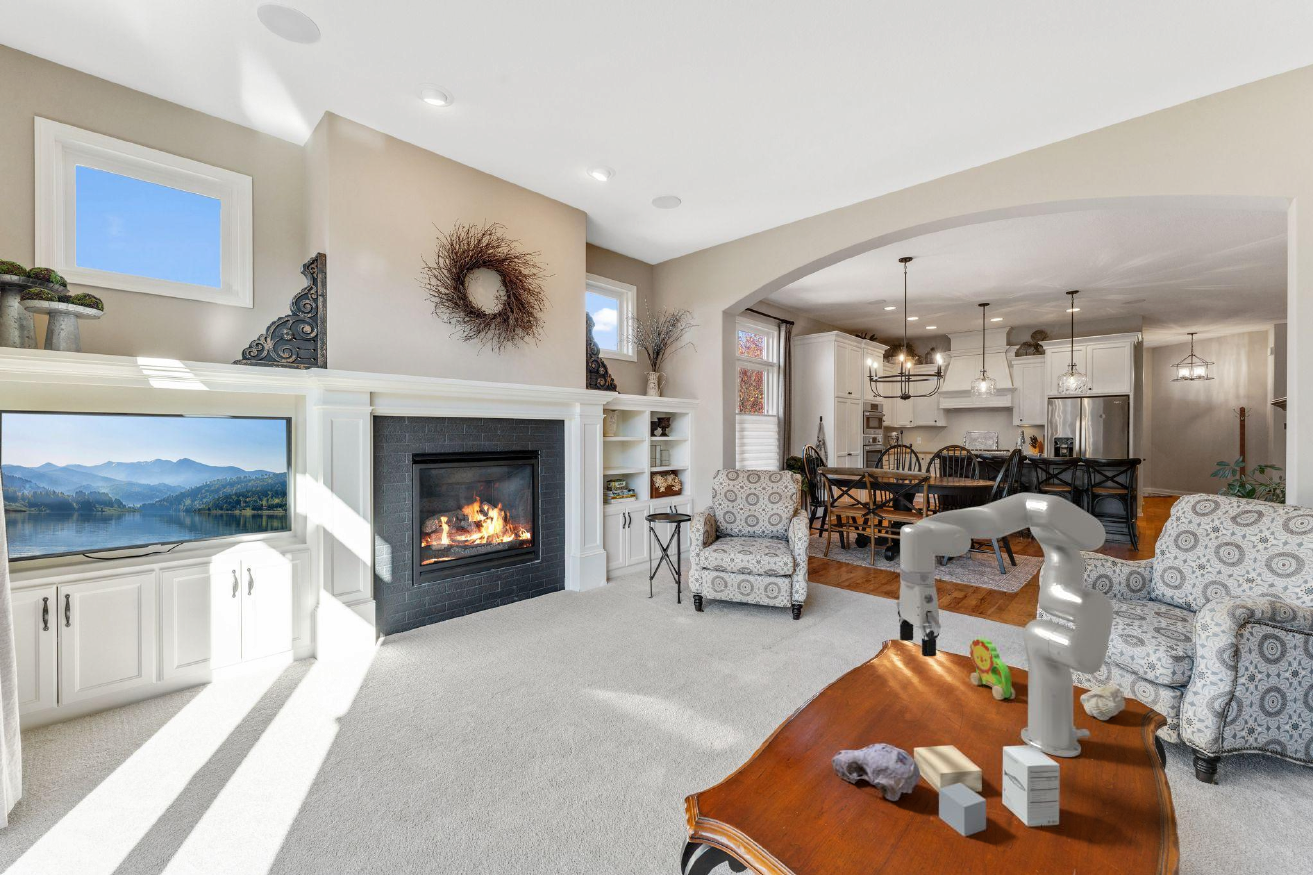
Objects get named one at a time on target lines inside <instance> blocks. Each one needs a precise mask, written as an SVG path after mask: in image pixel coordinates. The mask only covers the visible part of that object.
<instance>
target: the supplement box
mask: <svg viewBox="0 0 1313 875" xmlns="http://www.w3.org/2000/svg"><path fill="white" fill-rule="evenodd" d="M1060 773H1061V772H1060V764H1059V763H1058V762H1056V761H1055V760H1053V759H1052V758H1051V757H1050V756H1048V755H1047V754H1046V753H1045V752H1042V751H1040V750H1038V749H1037V748H1036V747H1034V746H1033V745H1028V744H1024V745H1023V744H1021V745H1010V746H1005V745H1004V746H1002V800H1001V801H1002V805H1004V806H1005V807H1006V808H1007V809H1008V810H1009V811H1011V812H1012V813H1013V814H1014V815H1015V816H1016V817H1017V818H1018V819H1019V820H1020V821H1021V822H1023V824H1025V826H1026V827H1043V826H1056V825H1059V824H1060V776H1061V775H1060ZM1041 825H1042V826H1041Z"/></svg>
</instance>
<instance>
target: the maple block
mask: <svg viewBox="0 0 1313 875" xmlns="http://www.w3.org/2000/svg"><path fill="white" fill-rule="evenodd" d="M913 759H914V761H915V762H916V763H917V765H918V768H919V770H920V776H921V777H922V778H923V779H925V781H926V782H927V783H929V785H930V786H931V787H933V789H935V791H936V792H937V793H938V794H939V789H940V788H944V787H947V786H950V785H953V784H957V783H962V784H963V785H965V786H966V787H968V788H969V789H971V790H972V791H974V792H975V793H977V792H982V791H983V790H982V789H983V788H982V786H983V784H982V783H983V782H982V781H983V779H982V778H983V776H982V775H983V770H982V769H981V768H980V767H979V766H978V765H976V764H975V763H974V762H973V761H971V759H970V758H968V757H967V756H966V755H964V754H963V753H962V752H961V751H960V750H959V749H958V748H957V747H955V746H954V745H952V744H951V745H937V746H936V745H935V746H924V747H923V746H922V747H913Z"/></svg>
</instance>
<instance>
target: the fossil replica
mask: <svg viewBox="0 0 1313 875" xmlns="http://www.w3.org/2000/svg"><path fill="white" fill-rule="evenodd" d="M1123 693H1124V692H1123V691H1122V690H1121V689H1120V688H1119V687H1116V686H1098V687H1096V688H1094V689H1092V690H1091V691H1090V690H1089V691H1088V692H1086V693H1084V694H1082V695H1081V696H1080V698H1079V699H1080V700H1079V701H1080V703H1081V705H1083V708H1084V710H1085V712H1086V713H1087V714H1088V715H1089V716H1091V717H1095V718H1096V719H1098V720H1100V721H1108V720H1109V719H1110V718H1111V717H1113V716H1117V715H1118V714H1119V712H1121V711H1123V710H1124V709H1125V708H1126V701H1125V699H1124V695H1123Z"/></svg>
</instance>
